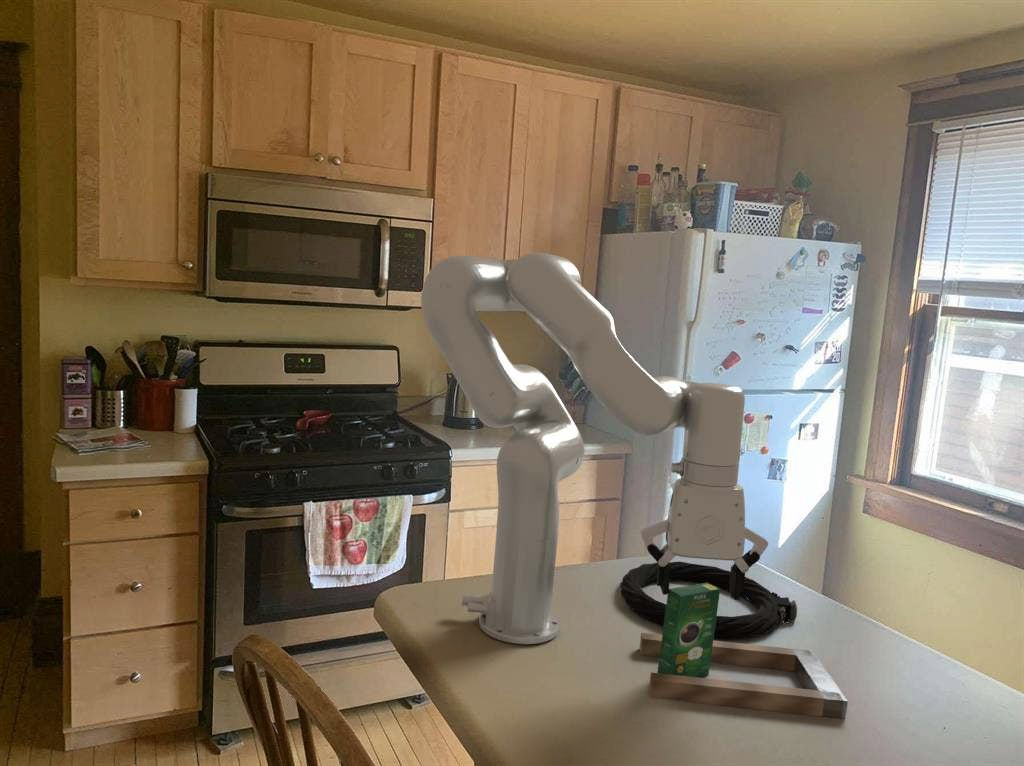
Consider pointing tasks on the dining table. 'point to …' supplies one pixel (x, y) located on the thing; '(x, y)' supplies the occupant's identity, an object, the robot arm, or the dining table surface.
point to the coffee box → (689, 630)
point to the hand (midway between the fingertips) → (698, 593)
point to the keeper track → (812, 700)
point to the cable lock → (725, 627)
